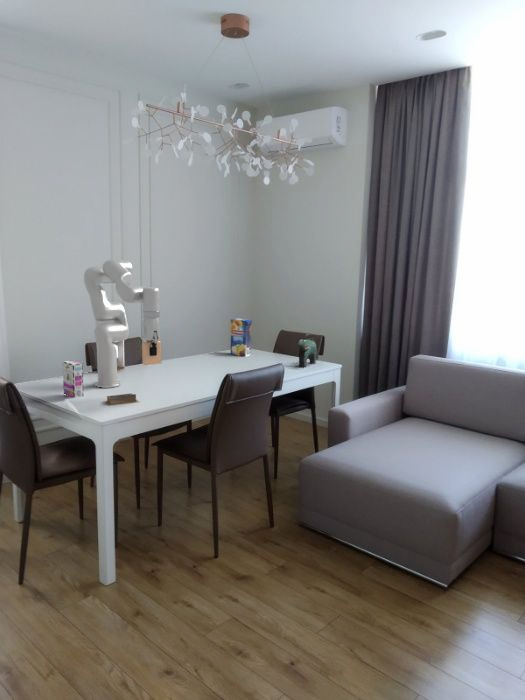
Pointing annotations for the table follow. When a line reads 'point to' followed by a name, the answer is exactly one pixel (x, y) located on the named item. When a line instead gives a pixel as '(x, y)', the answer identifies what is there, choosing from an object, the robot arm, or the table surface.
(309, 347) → the green elephant figurine
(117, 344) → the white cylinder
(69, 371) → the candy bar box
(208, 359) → the table surface
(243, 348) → the juice carton
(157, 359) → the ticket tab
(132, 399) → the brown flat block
